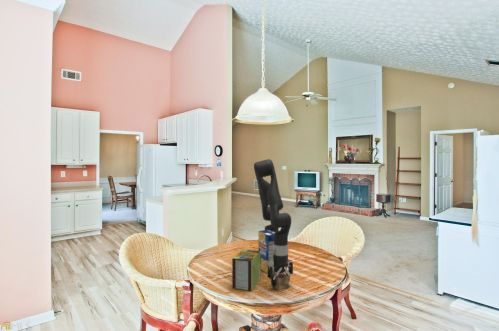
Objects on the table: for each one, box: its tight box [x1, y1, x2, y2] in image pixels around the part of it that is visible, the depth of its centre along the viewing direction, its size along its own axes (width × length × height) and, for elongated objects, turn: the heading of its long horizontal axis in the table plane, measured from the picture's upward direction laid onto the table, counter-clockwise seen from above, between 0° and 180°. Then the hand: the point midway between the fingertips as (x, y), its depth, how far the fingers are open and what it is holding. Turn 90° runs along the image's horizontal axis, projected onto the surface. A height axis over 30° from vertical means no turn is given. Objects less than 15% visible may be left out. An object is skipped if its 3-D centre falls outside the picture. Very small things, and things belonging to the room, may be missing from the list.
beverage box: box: [257, 229, 275, 275], centre depth 165 cm, size 7×11×22 cm, turn 29°
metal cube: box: [273, 272, 290, 292], centre depth 143 cm, size 6×6×6 cm
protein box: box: [231, 248, 261, 292], centre depth 147 cm, size 10×15×16 cm
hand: (280, 284), depth 143 cm, fingers open, 8 cm apart
